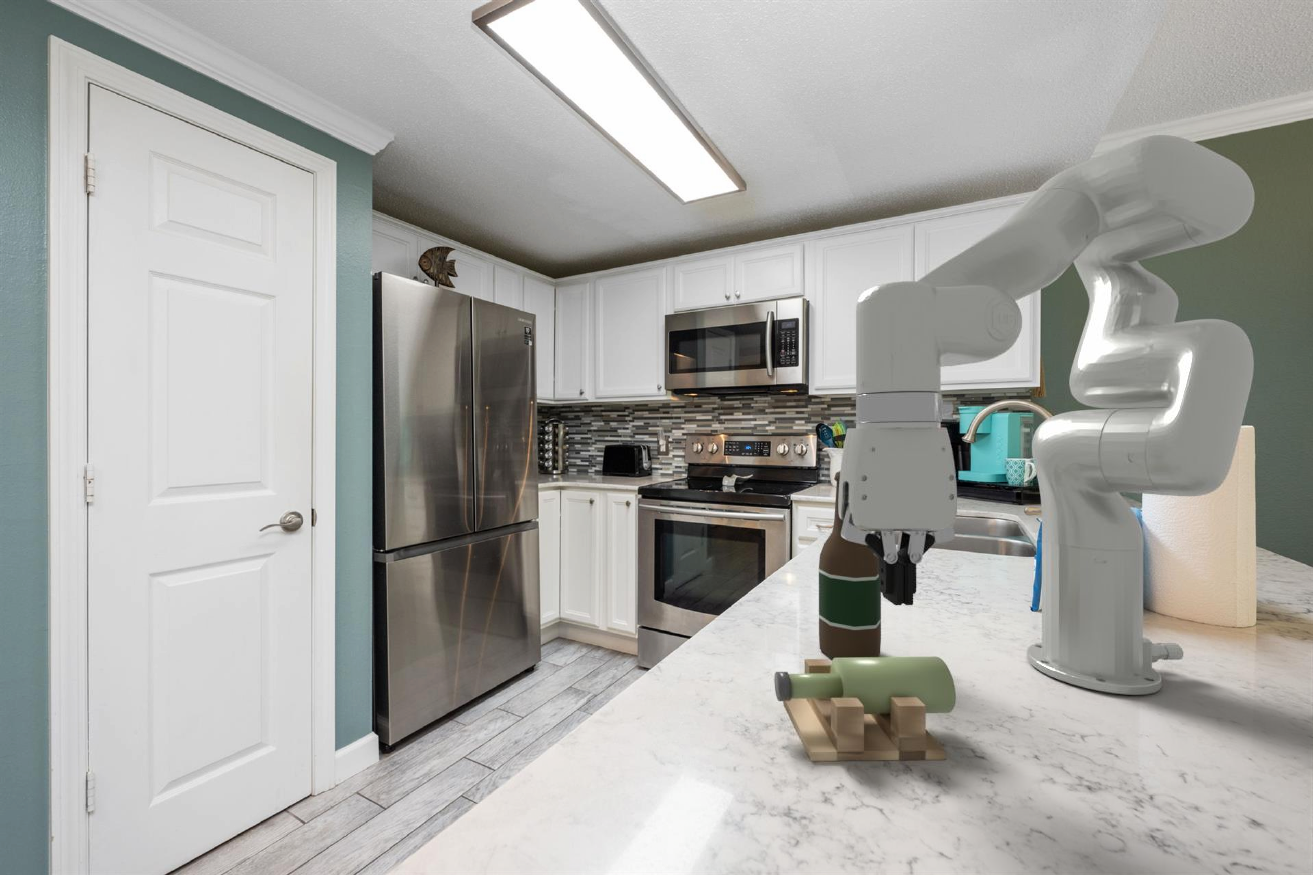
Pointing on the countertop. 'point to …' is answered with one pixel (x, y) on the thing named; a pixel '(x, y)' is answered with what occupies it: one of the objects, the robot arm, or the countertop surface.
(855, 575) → the beer bottle
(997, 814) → the countertop surface
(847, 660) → the bottle
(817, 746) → the rest
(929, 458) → the robot arm
